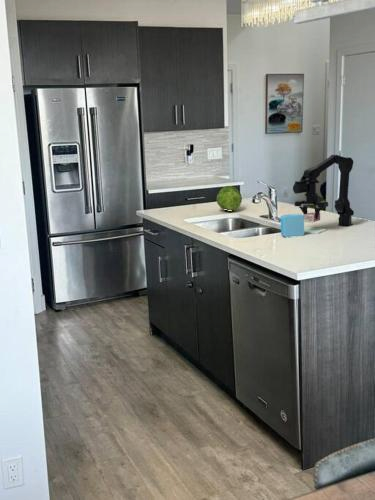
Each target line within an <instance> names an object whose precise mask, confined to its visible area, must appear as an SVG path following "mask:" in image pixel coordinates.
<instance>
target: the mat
mask: <svg viewBox="0 0 375 500" xmlns="http://www.w3.org/2000/svg"><path fill="white" fill-rule="evenodd" d="M326 230H327V231H328V230H329V228H319V227H318V228H317V227H308V226H306V227H304V234H313V235H315V234H316V235H319V234H321V233H323V231H324V232H327V231H326ZM318 233H319V234H318Z"/></svg>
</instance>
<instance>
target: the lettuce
mask: <svg viewBox="0 0 375 500" xmlns="http://www.w3.org/2000/svg"><path fill="white" fill-rule="evenodd" d="M242 200H243V196H242V194H241V192H240V191H239V190H238V189H237V188H236V187H234V186H231V185H226V186H224V187H222V188H221V189H220V190H219V191H218V194H216V203H217V205H218V206H219V208H221V209H222V210H223V209H227V210H234V209H236V210H238V208H239V207H240V206H241V204H242V202H243V201H242ZM234 211H235V210H234Z"/></svg>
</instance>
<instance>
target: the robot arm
mask: <svg viewBox="0 0 375 500" xmlns="http://www.w3.org/2000/svg"><path fill="white" fill-rule="evenodd" d="M334 164H336V165H338V170H339V172H340V175H339V176H340V177H339V192H338V198H337V200H334V210H335V211H336V214H337V216H338V215H339V216H338V225H337V226H338V227H339V226H340V227H350V226H353V223H352V222H353V221H352V220H353V219H352V216H354V212H355V211H354V210H353V209H352V208H351V203H350V201H349V198H348V197H349V196H348V195H349V186H350V185H349V183H350V173H351V171H352V170H353V166H354V160H353V158H352V157H344V156H341V155H338V154H331V155H330V156H328V158H326V159H324V160H323V161H321V162H320V163H319V164H317V165H315V166H312V167H309V168H306V169H305V170H304V171H303V174H302V176H301V178H300V180H299V181H298V180H297V181H296V180H295V182H294V184H293V185H292V191H293V193H294V194H295V195H296V194H304V196H305V199H304V200H300V199H299V200H296V201H295V202H294V207H298V209H300V210H301V212H302V215H305V214H308V209H309V208H308V207H309V206H314V213H315V217H316V219H318V216H319V213H320V214H321V210H322V209H325V208H327V207H329V202H328V201H326V200H322V196H320V195H318V192H317V184H319V183H320V181H319V180H318V178H319V177H320V175H321V174H322V173H323V172H324V171H325V170H327V169H329V168H330V167H332V166H333V165H334Z"/></svg>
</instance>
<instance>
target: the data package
mask: <svg viewBox="0 0 375 500" xmlns="http://www.w3.org/2000/svg"><path fill="white" fill-rule="evenodd" d="M303 215H304V214H301V213H292V214H291V213H290V214H283V215H281V216H280V235H281V237H283V236H284V237H283V238H286V237H288V238H292V237H291V236H296V237H303V236H304V235H305V233H304V228H305V222H304V216H303Z"/></svg>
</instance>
